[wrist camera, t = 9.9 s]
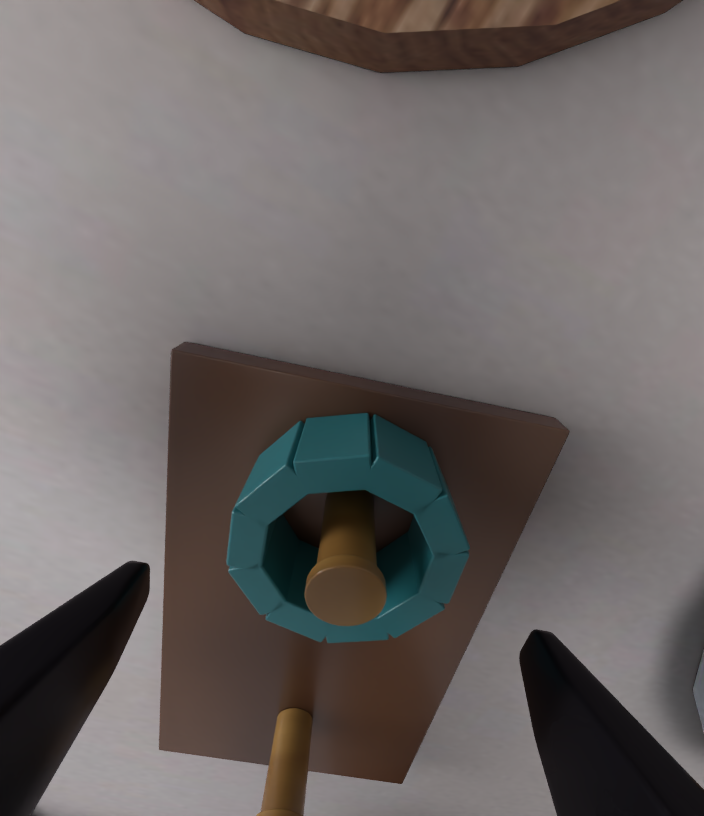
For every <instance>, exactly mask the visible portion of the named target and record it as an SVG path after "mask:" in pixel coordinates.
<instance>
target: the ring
mask: <svg viewBox="0 0 704 816" xmlns="http://www.w3.org/2000/svg"><path fill="white" fill-rule="evenodd" d="M356 490H366V491H368V492H370V493H372V494H374V495H376V496H378V497H380V498H382V499H384V500H386V501H388V502H390V503H392V504H394V505H396V506H398V507H400V508H402V509H404V510H406V511H408V512H410V513H412V514H414V516H413V519H412V522H411V525H410V528H409V531H408V532H407V533H405V534H404V535H402V536H401V537H399V538H398V539H396V540H395V541H393V542H392V543H390V544H389V545H387V546H386V547H384V548H383V549H381V550H380V551H378V552H377V553H376V557H377V567H378V568H379V569H380V571H381V572H382V574H383V576H384V578H385V581H386V592H387V599H386V603H385V606H384V608H383V610H382V611H381V612H380V613H379V615H377V616H376V617H375V618H374V619H372V620H370V621H368V622H366V623H364V624H360V625H355V626H338V625H333V624H330V623H327V622H325V621H323V620H321V619H319V618H318V617H316V616H315V615H314V614H313V613H312V612H311V611H310V609H309V608H308V606H307V604H306V601H305V595H304V593H305V586H306V580H307V576H308V574H309V572H310V571H311V569H312V568H313V567H314V566H315V565H316V564H317V558H318V551H319V548H317V547H314V546H312V545H310V544H308V543H306V542H304V541H301V540H299V539H298V538H297V536H296V534H295V533H294V531H293V530H292V528H291V526H290V525H289V523H288V522H287V520H286V518H285V517H284V515H283V513H285V512H286V511H287V510H288V509H290V508H291V507H292V506H294V505H295V504H296V503H297V502H299V501H300V500H301V499H303V498H304V497H305V496H306V495H308V494H317V493H330V492H343V491H356ZM469 549H470V546H469V543H468V540H467V537H466V535H465V532H464V529H463V526H462V524H461V521H460V518H459V515H458V513H457V510H456V507H455V504H454V502H453V499H452V496H451V493H450V491H449V488H448V486H447V484H446V481H445V479H444V476H443V474H442V472H441V469H440V467H439V464H438V462H437V460H436V457H435V455H434V452H433V450H432V448H431V447H428V445H427V442H426V441H424V440H422V439H420V438H418V437H417V436H415V435H413V434H411V433H409V432H407V431H405V430H404V429H402V428H400V427H398V426H396V425H394V424H393V423H391V422H389V421H387V420H385V419H383V418H382V417H380V416H378V415H376V414H374V415H373V416H372V418H371V420H369V414H368V413H359V414H347V415H336V416H325V417H314V418H307V419H306V422H305V424H304V423H303V422H302V421H299V422H298V423H297V424H295V425H294V426H293V427H292V428H291V429H290V430H288V431H287V432H286V433H285V434H284V435H283V436H281V437H280V438H279V439H278V440H277V441H276V442H274V443H273V444H272V445H271V446H270V447H269V448H267V449H266V450H265V451H264V452H263V453H262V454H260V455H259V457H258V459H257V461H256V463H255V465H254V467H253V469H252V471H251V473H250V475H249V477H248V479H247V481H246V484H245V486H244V488H243V490H242V492H241V494H240V496H239V498H238V500H237V502H236V504H235V507H234V509H233V511H232V515H231V524H230V533H229V542H228V551H227V560H226V564H227V565H228V566H230V567H229V570H228V572H229V574H230V575H231V576H232V578H233V579H234V580H235V582H236V583H237V585H238V586H239V587H240V589H241V590H242V591H243V593H244V594H245V595H246V597H247V598H248V599H249V601H250V602H251V604H252V605H253V606H254V608H255V609H256V610H257V612H258V613H259V614H260V615H264V614H266V617H265V620H267V621H269V622H272V623H274V624H277V625H279V626H282V627H284V628H287V629H289V630H291V631H294V632H296V633H299V634H301V635H304V636H306V637H309V638H311V639H313V640H316V641H318V642H322V641H323V639H324V638H325V637H326V640H327V643H342V642H360V641H379V640H388V639H389V634H390V635H391V636H392V637H393V638H397V637H398V636H400V635H402V634H403V633H405V632H407V631H409V630H410V629H412V628H414V627H415V626H417V625H419V624H420V623H422V622H424V621H426V620H427V619H429V618H431V617H432V616H434V615H436V614H438V613H439V612H441V611H443V610H444V609H445V606H444V603H445V604H448V603H449V602H450V600H451V598H452V595H453V593H454V591H455V588H456V586H457V584H458V581H459V579H460V576H461V574H462V572H463V569H464V567H465V565H466V562H467V560H468V558H469V552H468V550H469Z"/></svg>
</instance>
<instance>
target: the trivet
mask: <svg viewBox="0 0 704 816" xmlns="http://www.w3.org/2000/svg"><path fill="white" fill-rule="evenodd" d="M194 1H196V2H197V3H199V4H200V5H202V6H204V7H205V8H207V9H208V10H210V11H211V12H213V13H214V14H216V15H217V16H219V17H220V18H222V19H224V20H225V21H227V22H228V23H230V24H231V25H233V26H234V27H236V28H237V29H239V30H240V31H242V32H243V33H245V34H249V35H252V36H256V37H259V38H263V39H266V40H269V41H273V42H276V43H280V44H283V45H287V46H290V47H294V48H297V49H301V50H304V51H308V52H311V53H314V54H318V55H321V56H325V57H328V58H332V59H335V60H339V61H342V62H346V63H349V64H352V65H356V66H359V67H363V68H366V69H370V70H373V71H377V72H380V73H382V72H404V71H426V70H448V69H470V68H492V67H513V66H521V65H523V64H526V63H529V62H532V61H534V60H537V59H540V58H542V57H545V56H548V55H551V54H553V53H556V52H559V51H562V50H564V49H567V48H570V47H573V46H575V45H578V44H581V43H583V42H586V41H589V40H592V39H594V38H597V37H600V36H603V35H605V34H608V33H611V32H613V31H616V30H619V29H622V28H624V27H627V26H630V25H633V24H635V23H638V22H641V21H644V20H646V19H649V18H652V17H654V16H657V15H660V14H663V13H665V12H667V11H668V10H670V9H671V8H672V7H674V6H675V5H677V4H678V3H680V2H681V1H683V0H194Z"/></svg>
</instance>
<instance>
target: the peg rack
mask: <svg viewBox="0 0 704 816" xmlns="http://www.w3.org/2000/svg"><path fill="white" fill-rule="evenodd" d="M359 413H368V414H369V420H371V418H372V416H373V415H374V414H376V415H378V416H380V417H382V418H383V419H385V420H387V421H389V422H391V423H393V424H394V425H396V426H398V427H400V428H402V429H404V430H405V431H407V432H409V433H411V434H413V435H415V436H417V437H418V438H420V439H422V440H424V441H426V442H427V445H428V447H431V448H432V450H433V452H434V455H435V457H436V460H437V462H438V464H439V467H440V469H441V472H442V474H443V476H444V479H445V481H446V484H447V486H448V488H449V491H450V493H451V496H452V499H453V502H454V504H455V507H456V510H457V513H458V515H459V518H460V521H461V524H462V526H463V529H464V532H465V535H466V537H467V540H468V543H469V546H470V549H469V550H468V552H469V558H468V560H467V562H466V565H465V567H464V569H463V572H462V574H461V576H460V579H459V581H458V584H457V586H456V588H455V591H454V593H453V595H452V598H451V600H450V602H449V603H448V604H445V603H444V606H445V609H444V610H443V611H441V612H439V613H438V614H436V615H434V616H432V617H431V618H429V619H427V620H426V621H424V622H422V623H420V624H419V625H417V626H415V627H414V628H412V629H410V630H409V631H407V632H405V633H403V634H402V635H400V636H398V637H397V638H393V637H392V636H391V635H390V634H389V639H388V640H379V641H360V642H342V643H327V640H326V637H325V638H324V639H323V641H322V642H318V641H316V640H313V639H311V638H309V637H306V636H304V635H301V634H299V633H296V632H294V631H291V630H289V629H287V628H284V627H282V626H279V625H277V624H274V623H272V622H269V621H267V620H265V617H266V614H264V615H260V614H259V613H258V612H257V610H256V609H255V608H254V606H253V605H252V604H251V602H250V601H249V599H248V598H247V597H246V595H245V594H244V593H243V591H242V590H241V589H240V587H239V586H238V585H237V583H236V582H235V580H234V579H233V578H232V576H231V575H230V574H229V572H228V570H229V567H230V566H228V565H227V564H226V560H227V551H228V542H229V533H230V524H231V515H232V511H233V509H234V507H235V504H236V502H237V500H238V498H239V496H240V494H241V492H242V490H243V488H244V486H245V484H246V481H247V479H248V477H249V475H250V473H251V471H252V469H253V467H254V465H255V463H256V461H257V459H258V457H259V455H260V454H262V453H263V452H264V451H265V450H266V449H267V448H269V447H270V446H271V445H272V444H273V443H274V442H276V441H277V440H278V439H279V438H280V437H281V436H283V435H284V434H285V433H286V432H287V431H288V430H290V429H291V428H292V427H293V426H294V425H295V424H297V423H298V422H299V421H302V422H303V423H304V424H305V422H306V419H307V418H314V417H325V416H336V415H347V414H359ZM569 432H570V431H569V430H568V429H567V428H566V427H565V426H563V425H562V424H561V423H560V422H559V421H558V420H557V419H556V418H553V417H548V416H543V415H538V414H533V413H528V412H523V411H519V410H514V409H509V408H504V407H499V406H494V405H490V404H485V403H480V402H475V401H470V400H465V399H460V398H456V397H451V396H446V395H441V394H436V393H431V392H427V391H422V390H417V389H412V388H407V387H402V386H397V385H393V384H388V383H383V382H378V381H373V380H368V379H364V378H359V377H354V376H349V375H344V374H339V373H334V372H330V371H325V370H320V369H315V368H310V367H305V366H300V365H296V364H291V363H286V362H281V361H276V360H271V359H267V358H262V357H257V356H252V355H247V354H242V353H237V352H233V351H228V350H223V349H218V348H213V347H208V346H204V345H199V344H194V343H189V342H184V343H182V344H180V345H179V346H177V347H175V348H173V349H172V350H171V370H170V403H169V436H168V469H167V502H166V535H165V568H164V601H163V634H162V667H161V700H160V733H159V750H164V751H171V752H178V753H185V754H192V755H200V756H207V757H214V758H221V759H228V760H235V761H242V762H249V763H256V764H263V765H269V767H268V773H267V778H266V784H265V790H264V795H263V801H262V807H261V812H260V813H258V814H257V815H256V816H303V815H304V804H305V794H306V784H307V774H308V771H313V772H320V773H327V774H334V775H341V776H349V777H356V778H363V779H370V780H377V781H384V782H391V783H398V784H402V783H403V781H404V779H405V777H406V774H407V772H408V770H409V768H410V766H411V764H412V762H413V760H414V758H415V756H416V753H417V751H418V749H419V747H420V745H421V743H422V741H423V739H424V737H425V735H426V732H427V730H428V728H429V726H430V724H431V722H432V720H433V718H434V716H435V714H436V711H437V709H438V707H439V705H440V703H441V701H442V699H443V697H444V695H445V693H446V690H447V688H448V686H449V684H450V682H451V680H452V678H453V676H454V674H455V672H456V669H457V667H458V665H459V663H460V661H461V659H462V657H463V655H464V653H465V651H466V649H467V646H468V644H469V642H470V640H471V638H472V636H473V634H474V632H475V630H476V628H477V625H478V623H479V621H480V619H481V617H482V615H483V613H484V611H485V609H486V607H487V604H488V602H489V600H490V598H491V596H492V594H493V592H494V590H495V588H496V586H497V583H498V581H499V579H500V577H501V575H502V573H503V571H504V569H505V567H506V565H507V562H508V560H509V558H510V556H511V554H512V552H513V550H514V548H515V546H516V544H517V541H518V539H519V537H520V535H521V533H522V531H523V529H524V527H525V525H526V523H527V520H528V518H529V516H530V514H531V512H532V510H533V508H534V506H535V504H536V502H537V499H538V497H539V495H540V493H541V491H542V489H543V487H544V485H545V483H546V481H547V478H548V476H549V474H550V472H551V470H552V468H553V466H554V464H555V462H556V460H557V457H558V455H559V453H560V451H561V449H562V447H563V445H564V443H565V441H566V439H567V437H568V434H569ZM283 515H284V517H285V518H286V520H287V522H288V523H289V525H290V526H291V528H292V530H293V531H294V533H295V534H296V536H297V538H298V539H299V540H301V541H304V542H306V543H308V544H310V545H312V546H314V547H317V548H319V551H318V558H317V564H316V565H315V566H314V567H313V568H312V569H311V571H310V572H309V574H308V576H307V580H306V586H305V593H304V595H305V601H306V604H307V606H308V608H309V609H310V611H311V612H312V613H313V614H314V615H315V616H316V617H318V618H319V619H321V620H323V621H325V622H327V623H330V624H333V625H338V626H355V625H360V624H364V623H366V622H368V621H370V620H372V619H374V618H375V617H376V616H377V615H379V613H380V612H381V611H382V610H383V608H384V606H385V603H386V599H387V592H386V581H385V578H384V576H383V574H382V572H381V571H380V569H379V568H378V567H377V557H376V553H377V552H378V551H380V550H381V549H383V548H384V547H386V546H387V545H389V544H390V543H392V542H393V541H395V540H396V539H398V538H399V537H401V536H402V535H404V534H405V533H407V532H408V531H409V528H410V525H411V522H412V519H413V516H414V514H412V513H410V512H408V511H406V510H404V509H402V508H400V507H398V506H396V505H394V504H392V503H390V502H388V501H386V500H384V499H382V498H380V497H378V496H376V495H374V494H372V493H370V492H368V491H366V490H356V491H343V492H330V493H317V494H308V495H306V496H305V497H304V498H303V499H301V500H300V501H299V502H297V503H296V504H295V505H294V506H292V507H291V508H290V509H288V510H287V511H286V512H285V513H283Z"/></svg>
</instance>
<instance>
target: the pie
mask: <svg viewBox="0 0 704 816" xmlns="http://www.w3.org/2000/svg"><path fill="white" fill-rule="evenodd" d="M693 693H694V697H695V701H696V705H697V709H698V713H699V717H700V720H701V724H702V728H703V732H704V651H703V654H702V658H701V661H700V665H699V669H698V672H697V676H696V679H695V683H694V687H693Z"/></svg>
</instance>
